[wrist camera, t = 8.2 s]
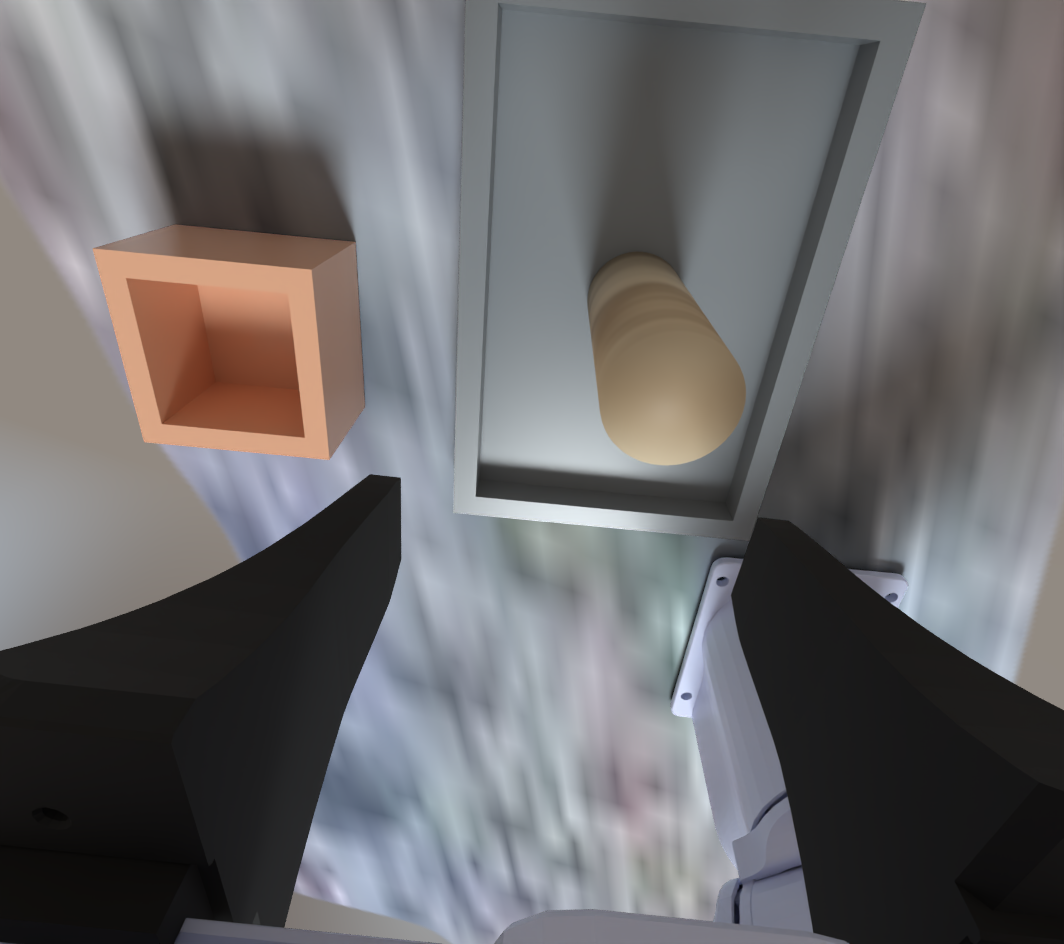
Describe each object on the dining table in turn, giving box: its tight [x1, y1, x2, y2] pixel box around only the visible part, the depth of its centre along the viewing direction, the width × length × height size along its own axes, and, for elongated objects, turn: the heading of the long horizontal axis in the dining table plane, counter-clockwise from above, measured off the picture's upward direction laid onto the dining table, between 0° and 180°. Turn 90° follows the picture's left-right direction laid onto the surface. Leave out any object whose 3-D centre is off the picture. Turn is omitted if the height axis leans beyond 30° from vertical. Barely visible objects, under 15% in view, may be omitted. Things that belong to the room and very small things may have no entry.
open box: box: [93, 224, 365, 460], centre depth 19 cm, size 6×6×4 cm
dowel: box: [587, 252, 746, 465], centre depth 16 cm, size 3×3×8 cm
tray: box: [453, 0, 926, 541], centre depth 19 cm, size 16×11×2 cm
